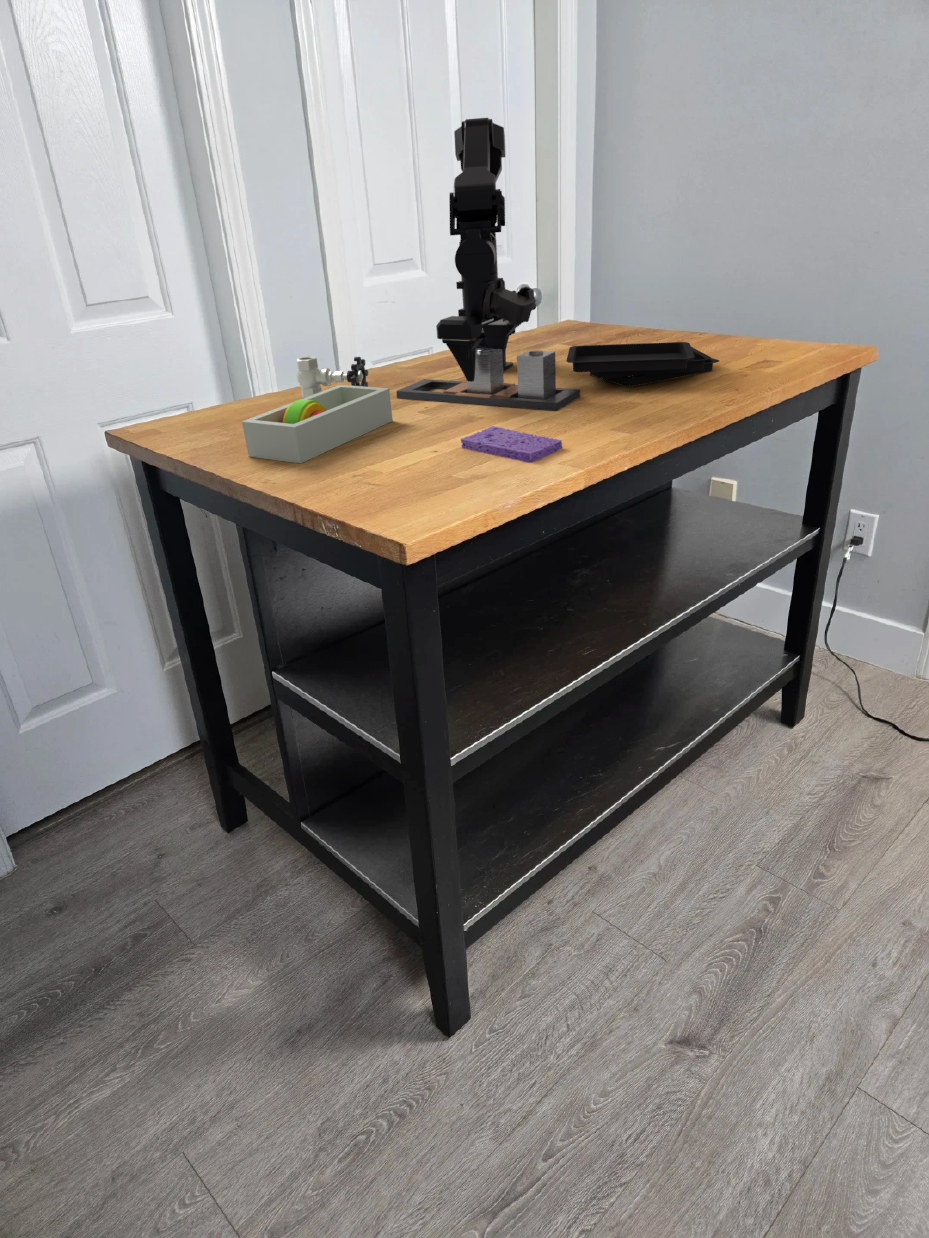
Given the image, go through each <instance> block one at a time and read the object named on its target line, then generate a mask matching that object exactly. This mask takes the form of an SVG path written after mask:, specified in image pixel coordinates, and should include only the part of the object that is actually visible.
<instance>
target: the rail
mask: <svg viewBox="0 0 929 1238" xmlns="http://www.w3.org/2000/svg"><path fill="white" fill-rule="evenodd" d="M431 389H437V390H438V389H439V390H444V391H441V392H440V391H429V390H431ZM580 397H581V389H579V388H567V387H565V388H563V387H556V395H555V396H553V397H551V398H550V399H548V400H538V399H525V398H518V384H516V383H510V382H508V383H507V382H504V390H502V391H500V392H498V393H496V394H494V395H488V394H474V393H467V382H466V381H463V380H462V381H459V380H458V381H457V380H446V379H445V380H444V379H430V378H429V379H428V378H424V379H422V380H419V381H416V382H415V383H412V384H410V385H407V386H405V387H403V388H400V389H398V390H396V398H397V399H403V400H405V399H406V400H417V401H431V402H441V403H442V402H443V403H456V404H464V405H465V404H466V405H480V406H492V407H505V408H516V409H517V408H518V409H528V410H529V409H530V410H542V411H552V412H554V411H555V412H557V411H558V410H561V409H562V408H564V407H566V406H567V405H569V404H571V403H573V401H576V400H577V399H579V398H580Z"/></svg>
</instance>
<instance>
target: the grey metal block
mask: <svg viewBox="0 0 929 1238" xmlns="http://www.w3.org/2000/svg"><path fill="white" fill-rule="evenodd" d="M516 365H517V366H516V367H517V368H516V369H517V385H518V398H525V399H538V400H548V399H550V398H551V397H553V396H555V395H556V388H557V384H556V382H557V381H556V378H557V377H556V376H557V374H556V372H557V371H556V351H550V350H540V349H539V350H530V349H529V350H528V351H526V352H523V353H521V354H519V355H516Z"/></svg>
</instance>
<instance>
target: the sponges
mask: <svg viewBox="0 0 929 1238" xmlns="http://www.w3.org/2000/svg"><path fill="white" fill-rule="evenodd" d="M562 441H563V440H562V439H557V438H554V437H552V438H551V437H548V436H547V437H546V436H543V435H542V436H541V435H533V434H532V433H528V432H527V433H526V432H519V431H517V430H514V429H513V430H512V429H508V428H507V429H506V428H504V427H500V426H495V425H492V426H490V427H488V428H485V429H482V430H481V431H477V432H476V433H473V434H471V435H466V436H465V437H462V438H460V442H461V443H460V444H461V448H462V449H466V450H470V451H475V452H480V453H484V454H489V455H494V456H497V457H498V456H499V457H502V458H507V459H512V460H515V461H516V460H517V461H521V462H525V463H533V462H536V461H538V460H540V459H541V460H542V459H543V458H545V457H548V456H550V455H551V454H554V453H555V452H559V451H560V450H563V442H562ZM558 450H559V451H558Z"/></svg>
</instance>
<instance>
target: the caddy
mask: <svg viewBox="0 0 929 1238" xmlns="http://www.w3.org/2000/svg"><path fill="white" fill-rule="evenodd" d="M321 391H322V392H319V393H316V394H314V395H311V396H308V397H306V398H301V399H300V398H299V400H314V401H317V402H319V403H320V404H321V405H323V406H324V407H325V409H326V410H327V411H325V412H322V413H320V414H317V415H315V416H313V417H310V418H308V419H305V420H303V421H300V422H298V423H295V424H288V423H282V419H283V416H284V414H285V412H286V409H287V408H288V406H289V405H290V404H292V403H293V402H294V401H292V402H290V403H287V404H284V405H282V406H279V407H277V408H274V409H271V410H269V411H266V412H263V413H261V414H258V415H256V416H252V417H251V418H247V419H245V420H242V421H241V424H242V428H243V429H242V430H243V434H244V441H245V444H246V448H247V455H248V457H250V458H258V459H264V460H265V459H266V460H270V461H271V460H272V461H281V462H287V463H293V464H294V463H295V464H302V463H305V462H307V461H309V460H311V459H314V458H316V457H318V456H320V455H322V454H324V453H326V452H329V451H330V450H332V449H335V448H337V447H339V446H342V445H344V444H345V443H348V442H350V441H353V440H355V439H357V438H358V437H361V436H362V435H365V434H367V433H370V432H372V431H374V430H376V429H378V428H380V427H382V426H385V425H387V424H389V423H390V422H393V412H392V411H393V410H392V402H391V393H390V392H391V391H390V388H389V387H388V388H387V387H374V386H368V387H363V386H352V385H349V384H348V385H346V384H345V385H344V384H338V385H336V386H333V387H330V388H327V389H325V390H321Z"/></svg>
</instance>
